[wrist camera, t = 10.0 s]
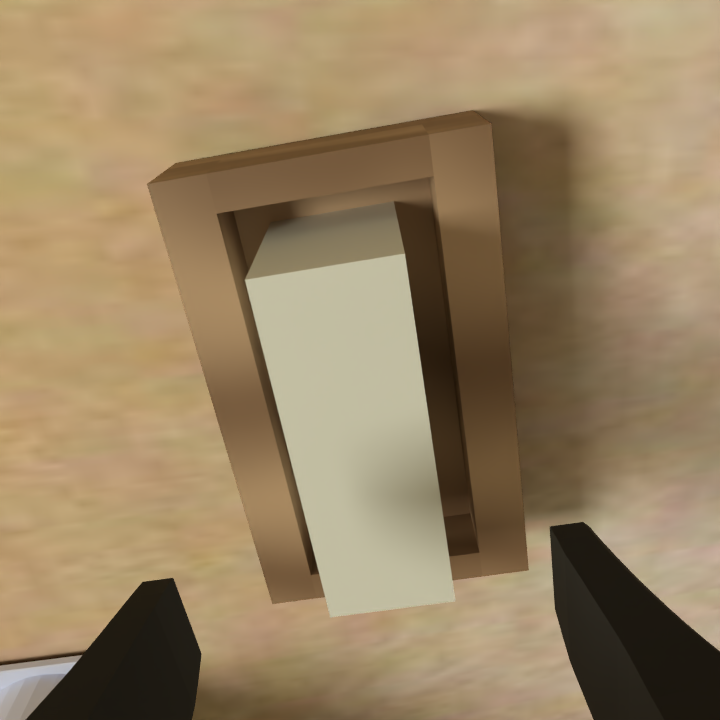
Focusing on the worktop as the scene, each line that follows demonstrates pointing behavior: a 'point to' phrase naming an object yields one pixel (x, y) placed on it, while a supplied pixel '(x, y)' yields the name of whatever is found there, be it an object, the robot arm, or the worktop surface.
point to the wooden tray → (430, 307)
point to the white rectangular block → (353, 405)
